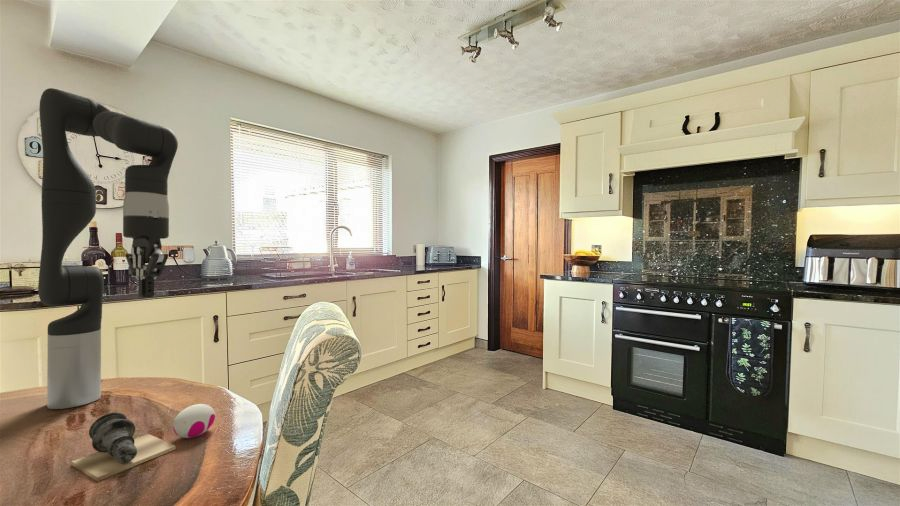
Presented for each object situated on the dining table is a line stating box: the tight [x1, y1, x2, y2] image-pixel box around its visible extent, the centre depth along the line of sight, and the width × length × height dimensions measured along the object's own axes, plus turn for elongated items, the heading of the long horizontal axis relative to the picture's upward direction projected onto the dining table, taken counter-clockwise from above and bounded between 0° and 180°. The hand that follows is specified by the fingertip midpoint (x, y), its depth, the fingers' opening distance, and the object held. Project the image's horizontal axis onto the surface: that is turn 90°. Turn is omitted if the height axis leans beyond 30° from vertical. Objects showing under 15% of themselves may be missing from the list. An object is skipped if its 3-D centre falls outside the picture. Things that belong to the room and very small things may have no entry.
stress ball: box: [172, 403, 216, 439], centre depth 73 cm, size 8×8×7 cm
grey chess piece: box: [88, 411, 137, 464], centre depth 64 cm, size 6×6×12 cm
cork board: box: [71, 433, 177, 482], centre depth 65 cm, size 10×11×1 cm
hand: (146, 297), depth 78 cm, fingers closed
